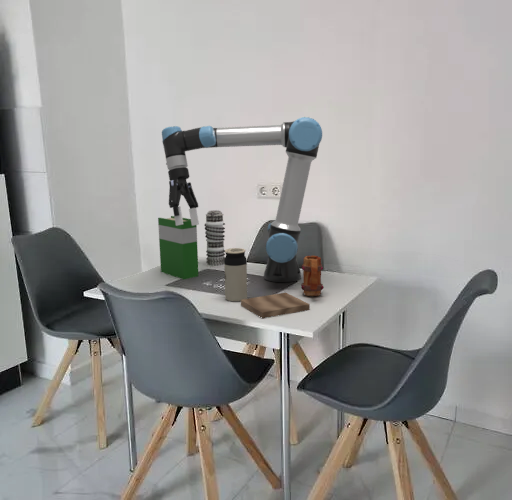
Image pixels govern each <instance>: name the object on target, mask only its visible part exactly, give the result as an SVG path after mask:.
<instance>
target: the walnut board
mask: <svg viewBox="0 0 512 500" xmlns="http://www.w3.org/2000/svg"><path fill="white" fill-rule="evenodd" d="M240 306H241V307H243V308H244V309H246V310H247V311H249V312H251V313H252V312H253V313H252V314H254V315H256V316H257V315H258V317H259V316H260V317H259V318H261V317H262V318H261V319H266V318H265V317H268V318H272V317H271V316H273V317H278V315H279V316H283V315H288V314H294V313H295V314H296V313H300V311H301V312H305V310H306V311H310V310H311V308H310V307H311V306H310V303H308V302H306V301H304V300H302V299H300V298H298V297H296V296H294V295H292V294H291V293H287V292H280V293H275V294H270V295H269V294H268V295H262V296H257V297H256V296H255V297H250V298H247V299H243V300H241V301H240Z"/></svg>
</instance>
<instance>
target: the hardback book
mask: <svg viewBox="0 0 512 500" xmlns="http://www.w3.org/2000/svg"><path fill="white" fill-rule="evenodd" d="M182 219H183V224H182V225H178V226H176V223H175V218H174V215H171V216H170V217H169V218H165V217H158V218H157V221H158V240H159V244H158V245H159V262H160V272H161V273H162V274H166V275H168V276H172V277H175V278H179V279H181V280H189V279H192V278H193V279H194V278H196V277H199V255H198V229H197V226H198V225H194V226H192V224H191V218H186V217H182Z"/></svg>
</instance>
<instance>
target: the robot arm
mask: <svg viewBox="0 0 512 500" xmlns="http://www.w3.org/2000/svg"><path fill="white" fill-rule="evenodd" d="M161 137H162V141H161V142H162V146H163V151H164V155H165V161H166V163H165V165H166V167H167V170H168V172H167V173H168V179H169V181H168V184H169V189H168V190H169V193H168V205H169V209H172V211H173V216H174V218H175V223H176V226H178V225H182V224H183V219H182V218H183V213H182V209H181V206H179V205H180V202H181V197H182V196H183V198H184V200H185V201H186V204H187V206H188V207H189V209H188V211H189V219H191V224H192V226H194V225H197V226H198V225H200V221H199V216H198V211H197V209H198V208H199V203H198V200H197V198H196V195H195V192H194V189H193V187H192V183H191V182H190V181H189V182H188V181H187V179H189V178H190V172H189V169H188V166H189V165H188V161H187V155H186V152H189V151H193V150H194V151H195V150H200V149H210V148H212V149H213V148H229V147H230V148H233V147H234V148H235V147H259V146H262V147H264V146H282V147H283V148H285V154H286V155H287V157H288V158H287V163H286V169H285V173H284V179H283V182H282V187H281V192H280V198H279V201H278V202H279V203H278V207H277V212H276V216H275V220H274V221H272V222H270V223H268V226H267V230H266V231H267V241H266V243H265V252H266V253H267V262H266V266H265V270H264V273H263V274H264V275H263V278H264V280H266V281H268V282H273V283H292V282H297V281H299V280H301V278H302V277H301V275H302V273H301V269H300V266H299V262H298V260H297V253H298V248H299V247H298V244H299V240H300V236H301V235H300V234H301V231H302V230H301V229H302V228H301V227H300V226H299V220H300V216H301V211H302V207H303V206H302V205H303V202H304V197H305V192H306V189H307V188H306V187H307V184H308V178H309V175H310V169H311V166H312V165H311V164H312V162H313V161H315V159H317V156H318V152H319V148H320V147H319V146H320V143H321V142H322V139H323V128H322V126H321V124H320V123H319V122H318V121H317V120H315V119H314V118H311V117H310V116H308V117H306V116H304V117H299V118H297V119H296V120H293V121H288V122H287V121H285V122H284V121H283V122H282V123H281V124H280V125H279V124H278V125H277V124H276V125H257V126H256V125H254V126H253V125H252V126H250V125H249V126H232V127H230V126H229V127H226V126H225V127H212V126H211V125H205V126H201V127H196V128H191V129H187V130H182V128H181V127H180V126H176V125H175V126H168V127H165V128H163V129H162V131H161Z"/></svg>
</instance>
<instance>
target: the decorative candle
mask: <svg viewBox="0 0 512 500" xmlns="http://www.w3.org/2000/svg"><path fill="white" fill-rule="evenodd" d="M223 216H224V213H223V212H222V211H221V210H217V209H216V210H208V211H207V213H206V214H205V217H206V218H205V219H206V220H205V223H204V230H205V232H204V233H205V236H204V237H205V238H206V239H205V241H206V251H205V252H206V256H207V257H206V267H208V268H223V267H224V259H225V257H226V253H225V250H226V249H225V246H224V241H225V237H226V236H225V235H224V234H225V232H226V231H225V229H226V227H224V226H225V225H226V223H224V217H223Z"/></svg>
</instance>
